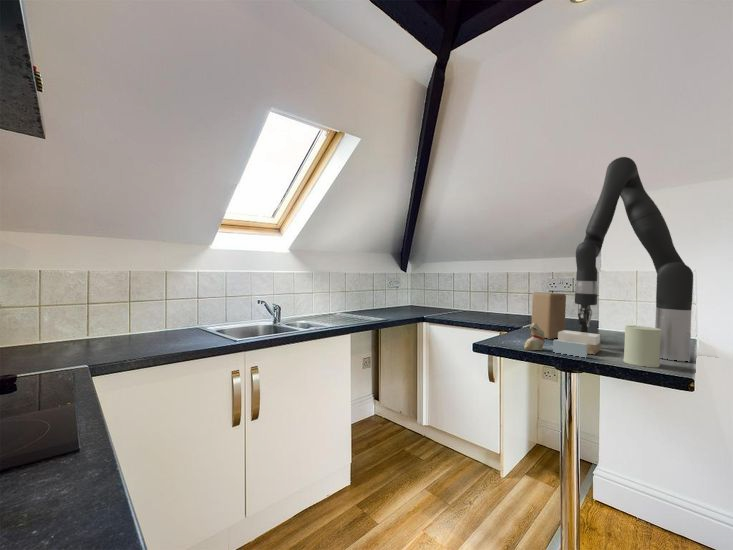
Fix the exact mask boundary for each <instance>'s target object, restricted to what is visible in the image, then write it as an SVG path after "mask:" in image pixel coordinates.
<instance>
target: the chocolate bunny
mask: <svg viewBox="0 0 733 550" xmlns="http://www.w3.org/2000/svg"><path fill="white" fill-rule="evenodd" d="M531 324H532V323H531ZM529 330H530V332H531V331H532V333H533V336H532V335H531V336H530V338H528V339H526V341H525V343H524V348H523V349H524V350H525V351H530V350H541V351H543V350H544V348H543V346H544V344H545V339H544V338H545V336H544V331H542V330H541V329H540V328H539V327H538V325H537V324H536V323H533V324H532V326H531V325H530V326H529ZM542 349H543V350H542Z"/></svg>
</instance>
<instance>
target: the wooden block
mask: <svg viewBox="0 0 733 550" xmlns="http://www.w3.org/2000/svg"><path fill="white" fill-rule="evenodd" d="M531 300H532V303H531V325H530V326H532V324H533V323H536V324H537V325H538V327H539V328H540V329H541V330H542V331H544V336H545V338H547V339H546V340H555V339H554V338H558V332H560V331H563V330H566V311H567V310H566V307H567V304H566V303H567V295H566V294H565V293H558V292H540V291H539V292H538V291H537V292H535V291H534V292H533V293H532V299H531ZM530 335H531V336H533V333H532V331H531V330H530Z"/></svg>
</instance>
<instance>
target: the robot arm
mask: <svg viewBox="0 0 733 550" xmlns="http://www.w3.org/2000/svg"><path fill="white" fill-rule="evenodd" d="M620 198H621V201H622V202H623V205H624V210H625V214H626V217H627V218H628V221H629V224H630V225H631V228H632V229H633V232H634V234H635V236H636V237H637V238H638V240H639V241H640V243H641V245H642V247H644V249H645V250H646V252H647V253H648V255H649V256H650V260H651V261H652V263H653V266H654V269H655V272H656V287H655V288H656V291H655V293H656V295H655V326H654V328H658V329H661V336H660V359H662V358H663V360H667V359H668V360H669V361H674V360H677V361H676V362H685V361H688V362H687V363H690V362H691V361H690V360H691V344H692V343H691V340H692V338H691V337H692V333H691V332H692V331H691V330H692V328H691V327H692V309H693V308H692V307H693V291H694V273H693V271H692V269H691V268H690V266H688V265H687V264H686V263H685V262H684V260H683V259H682V258H681V256H680V255H679V253H678V251H677V249H676V247H675V245H674V242H673V239H672V234H671V233H670V229H669V227H668V224H667V222H666V220H665V217H664V216H663V214H662V212H661V211H660V209H659V207H658V205H657V204H656V203H655V202H654V200H653V199H652V198H651V197H650V195H649V194H648V193H647V191H646V189H645V187H644V186H643V182H642V181H641V177H640V175H639V171H638V166H637V164H636V162H635V161H634V160H633V159H632V158H631V157H627V156H620V157H617V158H615V159H614V160H612V161H610V163H609V164H608V166H607V167H606V172H605V177H604V181H603V185H602V189H601V191H600V195H599V197H598V200H597V203H596V205H595V208H594V209H593V213H592V214H591V216H590V218H589V222H588V224H587V226H586V230H585V237H584V239H583V242H580V243H579V244H578V245H577V247H576V250H575V265H576V277H575V279H576V280H575V285H574V286H575V287H574V303H575V304H576V305H580V306H579V307H580V308H579V309H578V314H577V315H578V322H579V326H580V332H584V333H589V327H590V326H591V320H592V316H593V309H592V308H591V306H597V305H598V268H597V258H598V257H599V255H600V253H601V250H602V247H603V244H604V241H605V237H606V235H607V233H608V231H609V229H610V227H611V224H612V222H613V219H614V216H615V212H616V209H617V205H618V202H619V200H620ZM668 360H667V361H668Z"/></svg>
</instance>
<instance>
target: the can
mask: <svg viewBox="0 0 733 550" xmlns="http://www.w3.org/2000/svg"><path fill="white" fill-rule="evenodd" d="M660 336H661V329H658V328H655V327H651V326H641V325H625V326H624V348H623V349H624V350H623V351H624V352H623V360H622V362H624V363H626V364H629V365H632V366H638V367H643V366H646V367H645V368H660V367H661V365H660V364H661V363H660V359H661V358H660ZM659 366H660V367H659Z"/></svg>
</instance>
